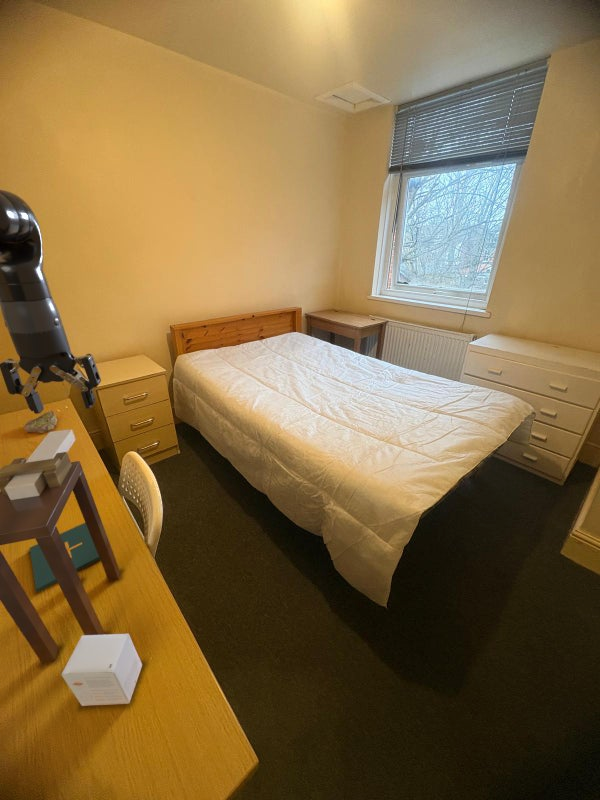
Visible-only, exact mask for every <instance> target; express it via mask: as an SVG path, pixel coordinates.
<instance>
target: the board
mask: <svg viewBox="0 0 600 800" xmlns="http://www.w3.org/2000/svg"><path fill="white" fill-rule="evenodd" d="M60 536H61V538H62V540H63V542H64V544H65V547H66V549H67V551H68V553H69V555H70V557H71V560H72V562H73V564H74V566H75V568H76V571H77V572H79V571H81V570H82V569H85V568H87V567H89V566H90V565H93V564H94V563H96V562H98V561H101V560H100V558H99V555H98V553H97V550H96V548H95V545H94V543H93V540H92V538H91V535H90V533H89V530H88V528H87V525H86V523H85V522H83V523H81V524H79V525H77V526H75V527H72V528H70V529H68V530H66V531H63V532H62V533H60ZM29 552H30V559H31V566H32V567H31V568H32V570H33V571H32V572H33V579H34V586H35V590H36V592H37V593H39V592H41V591H43V590H44V589H46V588H49V587H50V586H52V585H54V584H56V583H58V582H57V580H56V578H55V576H54V574H53V572H52V570H51V568H50V567H49V565H48V563H47V561H46V559H45V557H44V555H43V553H42V551H41V549H40V547H39V545H38V543H37V544H35V545H33V546H31V547H29Z"/></svg>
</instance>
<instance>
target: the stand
mask: <svg viewBox="0 0 600 800" xmlns="http://www.w3.org/2000/svg"><path fill="white" fill-rule="evenodd" d="M26 461H27V459H26V457H19V458H14V459H13V460H12V461H11V462H10V463H9V464H6V465H3V466H2V467H1V468H0V546H5V545H9V544H14V543H19V542H24V541H29V540H35V541H36V543H37V544H38V545H39V547H40V549H41V551H42V553H43V555H44V557H45V559H46V561H47V563H48V565H49V567H50V568H51V570H52V572H53V574H54V576H55V578H56V580H57V582H56V583H57V584H58V587H59V588H60V590H61V592H62V594H63V596H64V598H65V600H66V602H67V604H68V606H69V607H70V610H71V612H72V614H73V616H74V617H75V620H76V621H77V623H78V626H79V627H80V629H81V631H82V633H83V635H105V634H106V633H105V630H104V628H103V626H102V624H101V621H100V619H99V617H98V615H97V613H96V611H95V608H94V606H93V604H92V602H91V599H90V598H89V596H88V593H87V591H86V589H85V586H84V584H83V581H82V580H81V577H80V575H79V573H78V571H76V568H75V566H74V564H73V562H72V560H71V557H70V555H69V553H68V551H67V549H66V547H65V544H64V542H63V540H62V538H61V536H60V534H61V533H60V532H59V528H58V527H57V523H58V522H59V519H60V517H61V515H62V513H63V511H64V509H65V507H66V505H67V502H68V501H69V499H70V497H71V494H72V493H73V495H74V497H75V500H76V502H77V506H78V508H79V510H80V512H81V515H82V518H83V520H84V523H86V525H87V528H88V530H89V533H90V535H91V538H92V540H93V543H94V545H95V548H96V550H97V553H98V555H99V558H100V560H99V561H100V563H101V565H102V568H103V570H104V573H105V576H106V578H107V580H108V582H114V581H117V580H119V579H120V576H121V575H120V574H121V571H120V568H119V564H118V563H117V559H116V556H115V554H114V551H113V548H112V546H111V542H110V540H109V537H108V534H107V532H106V529H105V527H104V524H103V521H102V518H101V515H100V513H99V510H98V507H97V504H96V502H95V499H94V496H93V493H92V491H91V488H90V486H89V483H88V480H87V477H86V475H85V471H84V469H83V466H82V463H81V461H80V460H77V461H71V459H70V457H69V453H68V452H61V453H57V454H56V455H55V457H54V458H53V459H48V460H41V461H34V462H27V463H25V462H26ZM43 471H45V472H44V477H45V479H46V481H47V485H46V486H45V488H44V489H43V491H42V493H41V494H40V496H34V497H28V498H21V499H15V500H10V498H9V496H8V494H7V492H6V490H5V487H6V486H7V484H8V483H9V482H10V481H11V479H12V478H13V477H14V476H16V475H23V474H29V473H36V472H43ZM0 602H1V604H2V606H3V607H4V608H5V610H6V611H7V613H8V614H9V616H10V617H11V619H12V620H13V622H14V623H15V626H17V628H18V629H19V631H20V633H21V634H22V635H23V637H24V639H25V640H26V641H27V643H28V645H29V646H30V648H31V649H32V650H33V652H34V653H35V655H36V657H37V658H38V659H39V661H40V662H41V664H42V665H45V664H48V663H51V662H55V661H56V659H57V656H58V653H59V650H60V648H59V646H58V645H57V643H56V642H55V640H54V638H53V636H52V635H51V633H50V631H49V630H48V628H47V626H46V625H45V623H44V621H43V620H42V618H41V616H40V614H39V613H38V611H37V609H36V608H35V606H34V605H33V602H32V601H31V599H30V597H29V596H28V594H27V593H26V591H25V589H24V588H23V586H22V584H21V583H20V581H19V579H18V578H17V576H16V575H15V573H14V570H13V569H12V567H11V566H10V564H9V562H8V561H7V558H5V556H4V554H3V552H2V551H1V550H0Z"/></svg>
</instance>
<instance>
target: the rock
mask: <svg viewBox="0 0 600 800" xmlns="http://www.w3.org/2000/svg"><path fill="white" fill-rule="evenodd" d="M57 422H58V418H57V416H56V413H54V411H53V410H49V411H47V412H44V413H43V414H41V415H39V416H38V417H35V418H34V419H31V420H29V421H27V422H26V423H25V425H24V427H23V428H24V430H25V431H26V432H27V433H39V434H46V433H49V432H51V431H53V429H54V428H55V427H56V426H57Z"/></svg>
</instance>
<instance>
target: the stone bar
mask: <svg viewBox="0 0 600 800" xmlns="http://www.w3.org/2000/svg"><path fill="white" fill-rule="evenodd" d="M76 440H77V439H76V436H75V434H74V430H73V429H72V428H71V429H63V430H55V431H53V430H52V431H48V432H47V434H46V436H45V437H44V438H43V439H42V441H41V442H40V443H39V445H38V446H37V447H36V448H35V450H34V451H33V452H32V453H31V454H30V456H29V457H28V458H27V459H26V462H25V463H27V462H34V461H41V460H48V459H53V458H54V457H55V455H56V454H57V453H61V452H67V453H68V452H69V451H70V449H71V448H72V447H73V444H74V443H75V442H76ZM44 472H45V471H43V472H36V473H29V474H23V475H16V476H14V477H13V478H12V479H11V481H10V482H9V483H8V484H7V486H6V487H5V490H6V492H7V494H8V496H9V498H10V500H15V499H21V498H28V497H34V496H40V494H41V493H42V491H43V489H44V488H45V486H46V485H47V481H46V479H45V477H44Z"/></svg>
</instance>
